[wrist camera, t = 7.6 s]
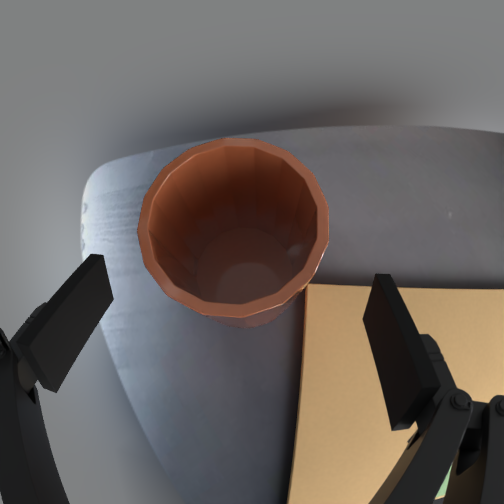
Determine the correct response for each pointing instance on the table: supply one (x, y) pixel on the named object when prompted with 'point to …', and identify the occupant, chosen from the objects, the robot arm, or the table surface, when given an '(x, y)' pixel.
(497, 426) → the robot arm
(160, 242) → the cup
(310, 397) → the mat
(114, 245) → the table surface
